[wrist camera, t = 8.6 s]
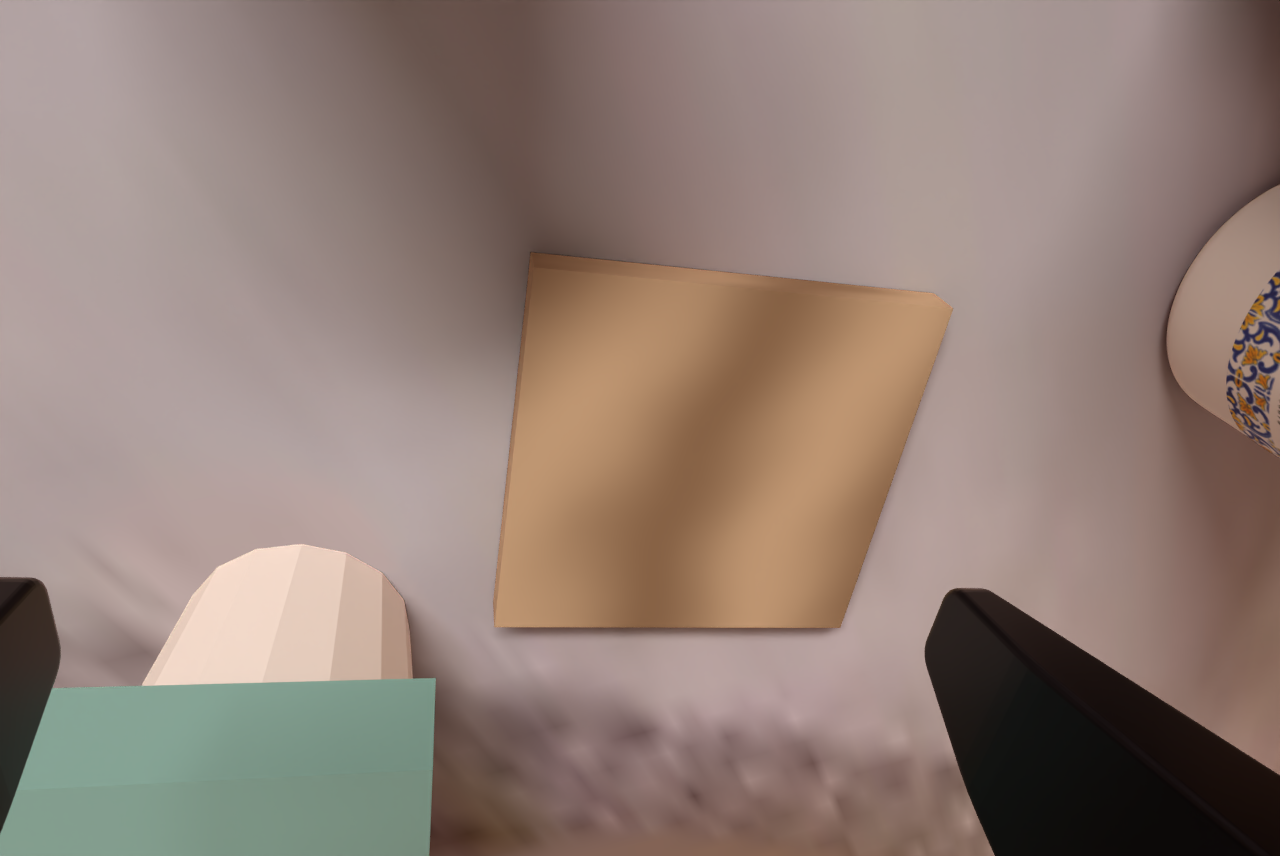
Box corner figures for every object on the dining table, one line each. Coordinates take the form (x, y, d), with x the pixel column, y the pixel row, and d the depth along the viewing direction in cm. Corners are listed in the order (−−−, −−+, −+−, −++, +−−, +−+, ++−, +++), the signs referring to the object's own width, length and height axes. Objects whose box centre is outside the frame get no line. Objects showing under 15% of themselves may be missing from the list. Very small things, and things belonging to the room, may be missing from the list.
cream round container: (443, 530, 23) (436, 748, 17) (423, 719, 26) (413, 959, 20) (149, 516, 21) (26, 753, 15) (168, 720, 24) (72, 983, 18)
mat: (933, 293, 22) (953, 308, 21) (827, 604, 26) (839, 627, 25) (530, 252, 19) (534, 267, 18) (493, 602, 24) (494, 627, 23)
